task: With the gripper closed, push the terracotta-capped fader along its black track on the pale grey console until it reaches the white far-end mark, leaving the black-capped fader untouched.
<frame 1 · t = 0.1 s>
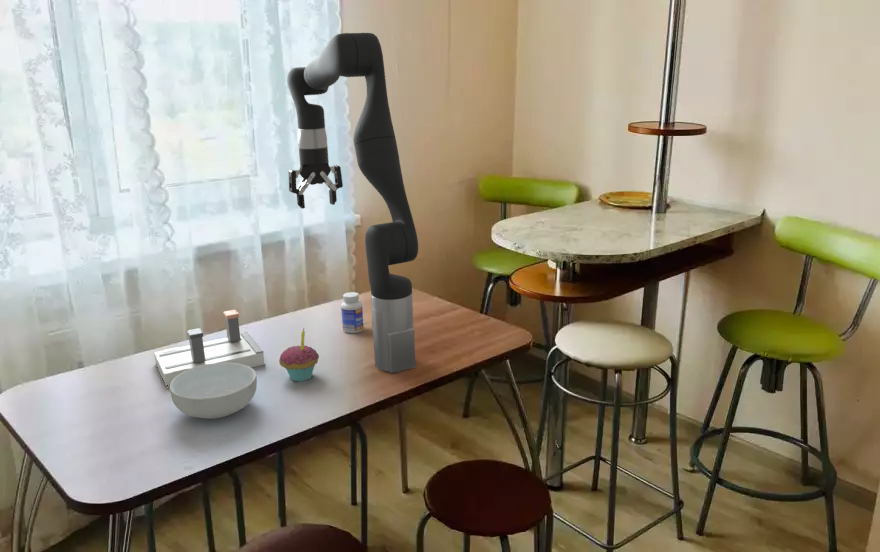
hand: (317, 206, 198), 29 cm above the table, fingers open, 8 cm apart
cupcake: (300, 377, 164), on the table
console: (209, 364, 172), on the table
pill bottle: (353, 330, 191), on the table
terracotta fader: (232, 326, 177), point 7 cm above the table, slide at 0.0 cm
cereal bowl: (217, 411, 150), on the table
black fader: (196, 345, 165), point 7 cm above the table, slide at 0.0 cm
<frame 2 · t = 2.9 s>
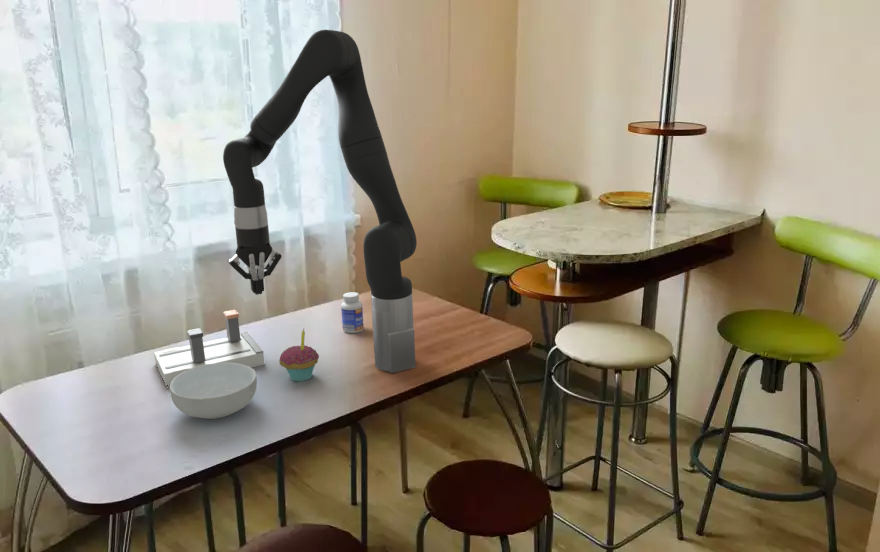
hand: (258, 293, 178), 14 cm above the table, fingers closed
nothing on the table moved.
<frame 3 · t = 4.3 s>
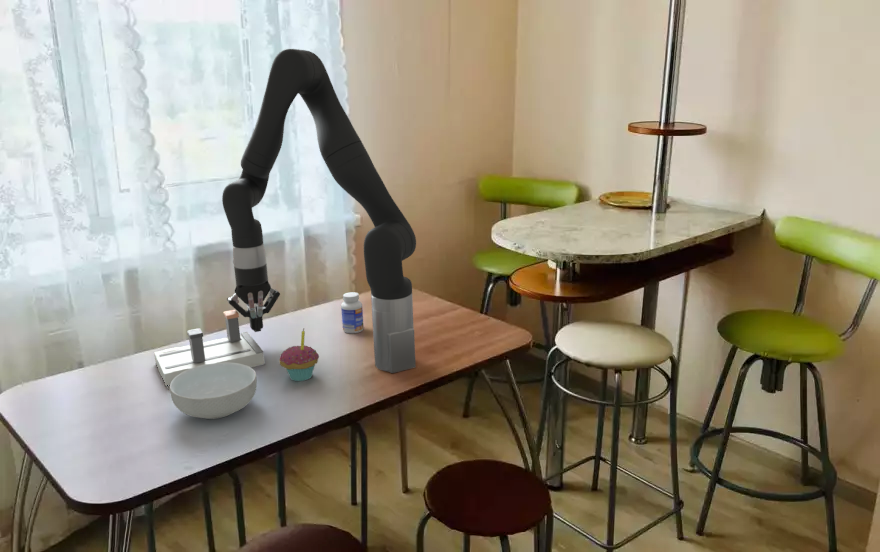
hand: (257, 330, 180), 4 cm above the table, fingers closed
nothing on the table moved.
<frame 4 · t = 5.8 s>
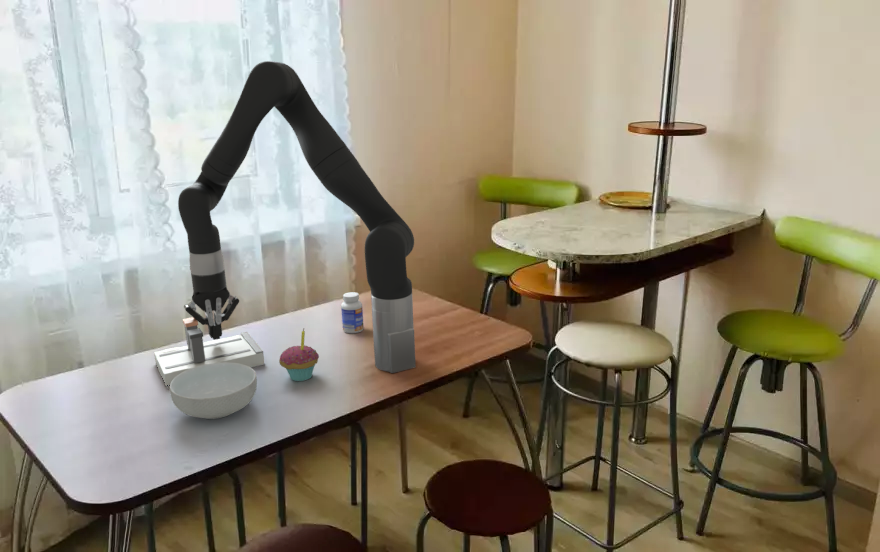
hand: (216, 338, 176), 4 cm above the table, fingers closed
terracotta fader: (191, 334, 172), point 7 cm above the table, slide at 9.5 cm, touching hand
everything else where it was.
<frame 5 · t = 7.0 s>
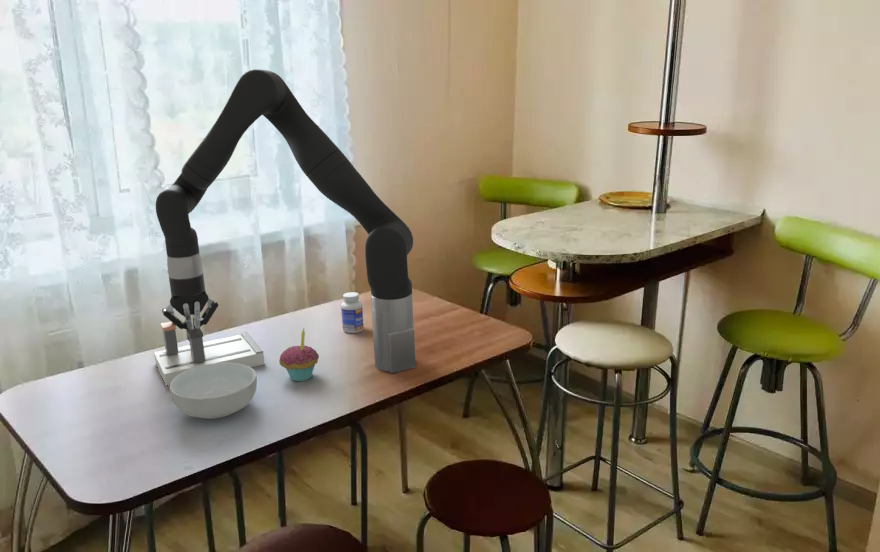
hand: (195, 342, 174), 4 cm above the table, fingers closed
terracotta fader: (170, 338, 170), point 7 cm above the table, slide at 14.4 cm, touching hand
everything else where it was.
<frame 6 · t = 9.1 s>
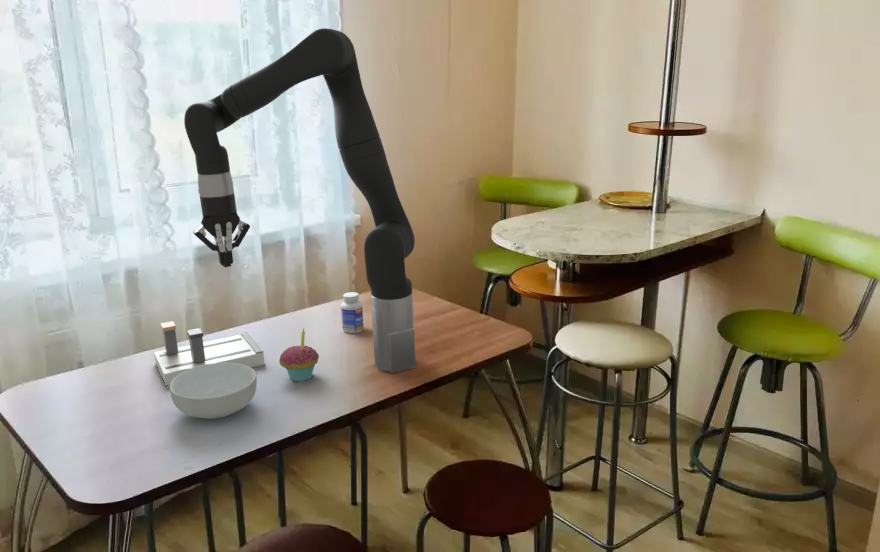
hand: (227, 266, 171), 22 cm above the table, fingers closed
terracotta fader: (169, 338, 170), point 7 cm above the table, slide at 14.4 cm
everything else where it was.
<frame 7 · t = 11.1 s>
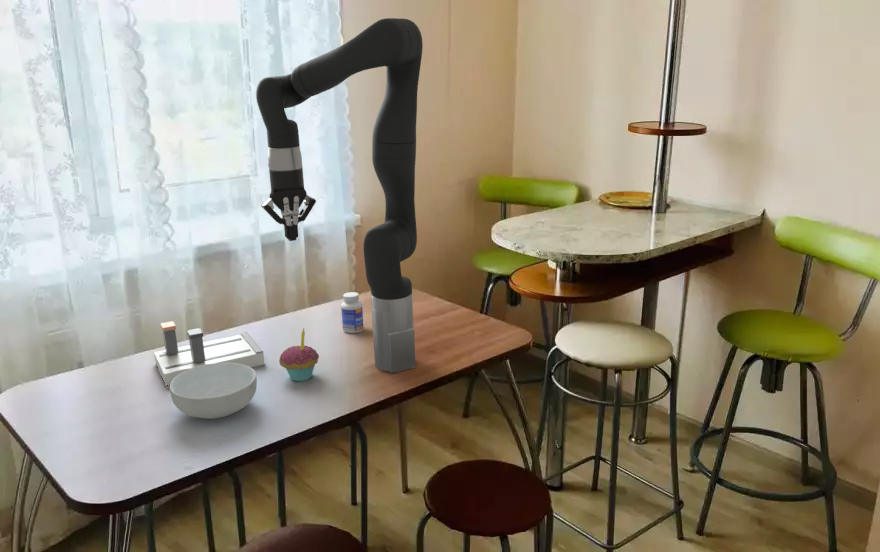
hand: (292, 239, 173), 27 cm above the table, fingers closed
nothing on the table moved.
at the end: terracotta fader slide at 14.4 cm; black fader slide at 0.0 cm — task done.
